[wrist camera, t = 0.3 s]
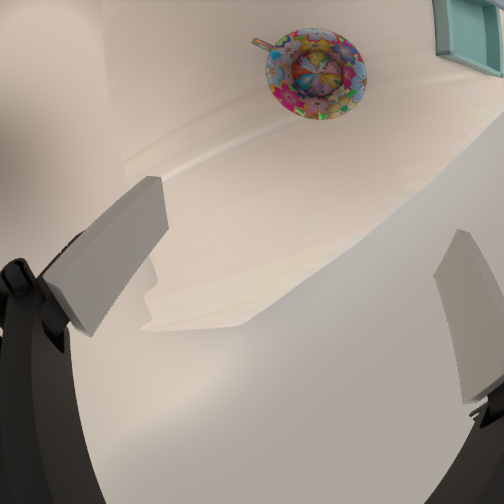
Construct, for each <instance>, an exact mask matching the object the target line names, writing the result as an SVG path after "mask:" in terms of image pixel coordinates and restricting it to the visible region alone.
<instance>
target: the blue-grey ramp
mask: <svg viewBox="0 0 504 504" xmlns="http://www.w3.org/2000/svg"><path fill="white" fill-rule="evenodd" d="M486 1H488V2H490V3H491V4H493V5H495V6H497V7H498V8H500V9H502V10H503V11H504V0H486Z"/></svg>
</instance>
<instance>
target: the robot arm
mask: <svg viewBox="0 0 504 504" xmlns="http://www.w3.org/2000/svg"><path fill="white" fill-rule="evenodd" d="M168 229H169V227H168V221H167V214H166V208H165V201H164V194H163V187H162V180H161V177H154V176H146V177H145V178H144V179H143V180H141V181H140V182H139V183H138V184H136V185H135V186H134V187H133V188H132V189H130V190H129V191H128V192H127V193H126V194H125V195H123V196H122V197H121V198H120V199H119V200H117V201H116V202H115V203H114V204H113V205H112V206H111V207H110V208H108V209H107V210H106V211H105V212H104V213H103V214H102V215H101V216H100V217H99V218H98V219H97V220H95V221H94V222H93V223H92V224H91V225H90V226H89V227H88V228H87V229H86V230H84V231H83V232H81V233H80V234H78V235H76V236H75V237H74V238H73V239H72V240H71V241H70V242H69V243H68V246H65V248H64V249H63V250H62V251H61V253H59V254H58V255H57V256H56V257H55V258H54V259H53V260H52V261H51V262H50V264H49V265H48V266H47V267H46V268H45V269H44V270H43V271H42V273H41V274H40V275H39V276H38V277H37V278H35V276H34V275H33V273H32V271H31V269H30V267H29V265H28V264H27V262H26V260H25V259H23V258H18V259H15V260H13V261H11V262H9V263H8V264H7V265H6V266H5V267H4V268H3V269H2V270H1V272H0V327H1V328H2V330H3V335H2V337H1V336H0V504H106V502H105V500H104V497H103V495H102V492H101V490H100V487H99V484H98V482H97V479H96V476H95V473H94V470H93V467H92V463H91V460H90V457H89V454H88V450H87V446H86V442H85V438H84V435H83V430H82V426H81V421H80V417H79V412H78V406H77V400H76V394H75V387H74V380H73V372H72V362H71V353H70V352H71V351H70V336H69V330H68V327H67V324H68V323H69V321H71V323H72V324H73V326H74V327H75V329H76V330H77V331H79V332H81V333H83V334H85V335H87V336H89V337H92V336H93V334H94V333H95V331H96V329H97V328H98V326H99V325H100V323H101V322H102V320H103V318H104V317H105V315H106V314H107V312H108V311H109V309H110V308H111V306H112V305H113V303H114V302H115V300H116V299H117V298H118V296H119V295H120V293H121V292H122V290H123V289H124V287H125V286H126V285H127V283H128V282H129V280H130V279H131V278H132V276H133V275H134V274H135V272H136V271H137V269H138V268H139V267H140V265H141V264H142V263H143V261H144V260H145V259H146V257H147V256H148V255H149V253H150V252H151V251H152V249H153V248H154V247H155V246H156V244H157V243H158V242H159V240H160V239H161V238H162V237H163V235H164V234H165V233H166V231H167V230H168ZM434 278H435V281H436V284H437V287H438V290H439V294H440V297H441V300H442V303H443V307H444V310H445V314H446V317H447V321H448V324H449V329H450V333H451V337H452V342H453V346H454V351H455V356H456V360H457V366H458V371H459V378H460V385H461V393H462V401H463V405H464V404H472V403H477V402H478V401H480V400H481V399H483V398H484V397H485V396H487V397H488V401H487V402H486V403H485V404H483V405H482V406H480V407H479V408H477V409H476V410H474V411H472V412H471V414H470V415H469V416H470V417H472V416H473V415H475V414H476V413H479V415H477V416H476V417H474V418H473V420H474V421H475V423H474V425H473V427H472V429H471V431H470V433H469V435H468V437H467V439H466V441H465V443H464V445H463V447H462V448H461V450H460V452H459V454H458V455H457V457H456V459H455V460H454V462H453V464H452V465H451V467H450V468H449V470H448V472H447V473H446V474H445V476H444V478H443V479H442V480H441V482H440V483H439V485H438V486H437V488H436V489H435V490H434V492H433V493H432V494H431V496H430V497H429V498H428V500H427V501H426V502H425V503H424V504H504V296H503V294H502V292H501V290H500V288H499V286H498V283H497V282H496V279H495V277H494V275H493V273H492V271H491V269H490V267H489V266H488V264H487V262H486V260H485V258H484V257H483V255H482V253H481V251H480V249H479V248H478V246H477V244H476V243H475V241H474V240H473V238H472V236H471V235H470V233H469V232H466V231H462V230H459V229H458V230H457V231H456V233H455V236H454V238H453V240H452V242H451V244H450V246H449V248H448V250H447V252H446V254H445V255H444V257H443V259H442V261H441V263H440V265H439V267H438V269H437V270H436V272H435V274H434Z"/></svg>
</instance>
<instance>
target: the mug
mask: <svg viewBox="0 0 504 504" xmlns="http://www.w3.org/2000/svg"><path fill="white" fill-rule="evenodd" d="M252 44H254V45H257V46H259V47H261V48H263V49H265V50H267V51H269V52H270V54H269V57H268V60H267V65H266V76H267V81H268V84H269V87H270V89H271V91H272V93H273V94H274V96H275V97H276V99H277V100H278V101H279V102H280V103H281V104H282V105H283V106H284V107H286V108H287V109H288V110H290V111H291V112H293V113H295V114H297V115H300V116H303V117H306V118H310V119H331V118H335V117H338V116H341V115H343V114H345V113H347V112H348V111H350V110H351V109H352V108H353V107H354V106H355V105H356V104H357V103H358V102H359V101H360V99H361V97H362V95H363V93H364V91H365V87H366V81H367V75H366V68H365V65H364V62H363V59H362V57H361V56H360V54H359V52H358V51H357V50H356V48H355V47H354V46H353V45H352V44H351V43H350V42H348V41H347V40H346V39H345V38H343V37H341V36H340V35H338V34H336V33H333V32H330V31H327V30H323V29H314V28H311V29H302V30H298V31H295V32H292V33H290V34H288V35H286V36H285V37H283V38H282V39H281V40H279V41H278V42H277V43H276V45H275V46H272V45H270V44H268V43H266V42H264V41H262V40H259V39H257V38H254V39H253V40H252Z"/></svg>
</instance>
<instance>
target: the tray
mask: <svg viewBox="0 0 504 504" xmlns="http://www.w3.org/2000/svg"><path fill="white" fill-rule="evenodd" d="M432 1H433V9H434V20H435V34H436V55H437V56H440V57H443V58H446V59H449V60H452V61H455V62H457V63H460V64H463V65H465V66H468V67H470V68H472V69H475V70H477V71H479V72H482V73H484V74H486V75H490V76H495V77H500V78H503V41H502V30H501V21H500V14H499V8H498V7H497V6H495V5H493V4H491V3H490V2H488V1H486V0H432Z"/></svg>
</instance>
